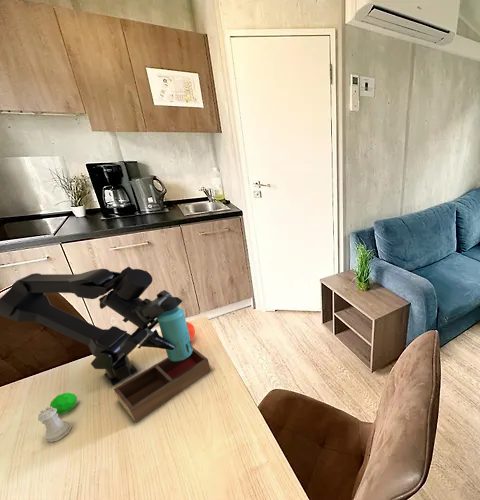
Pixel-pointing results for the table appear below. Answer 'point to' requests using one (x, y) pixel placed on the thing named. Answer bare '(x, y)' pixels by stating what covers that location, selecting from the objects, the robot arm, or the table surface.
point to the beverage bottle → (175, 330)
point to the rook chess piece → (53, 424)
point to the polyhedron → (64, 402)
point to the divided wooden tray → (160, 384)
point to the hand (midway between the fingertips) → (180, 341)
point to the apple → (191, 330)
